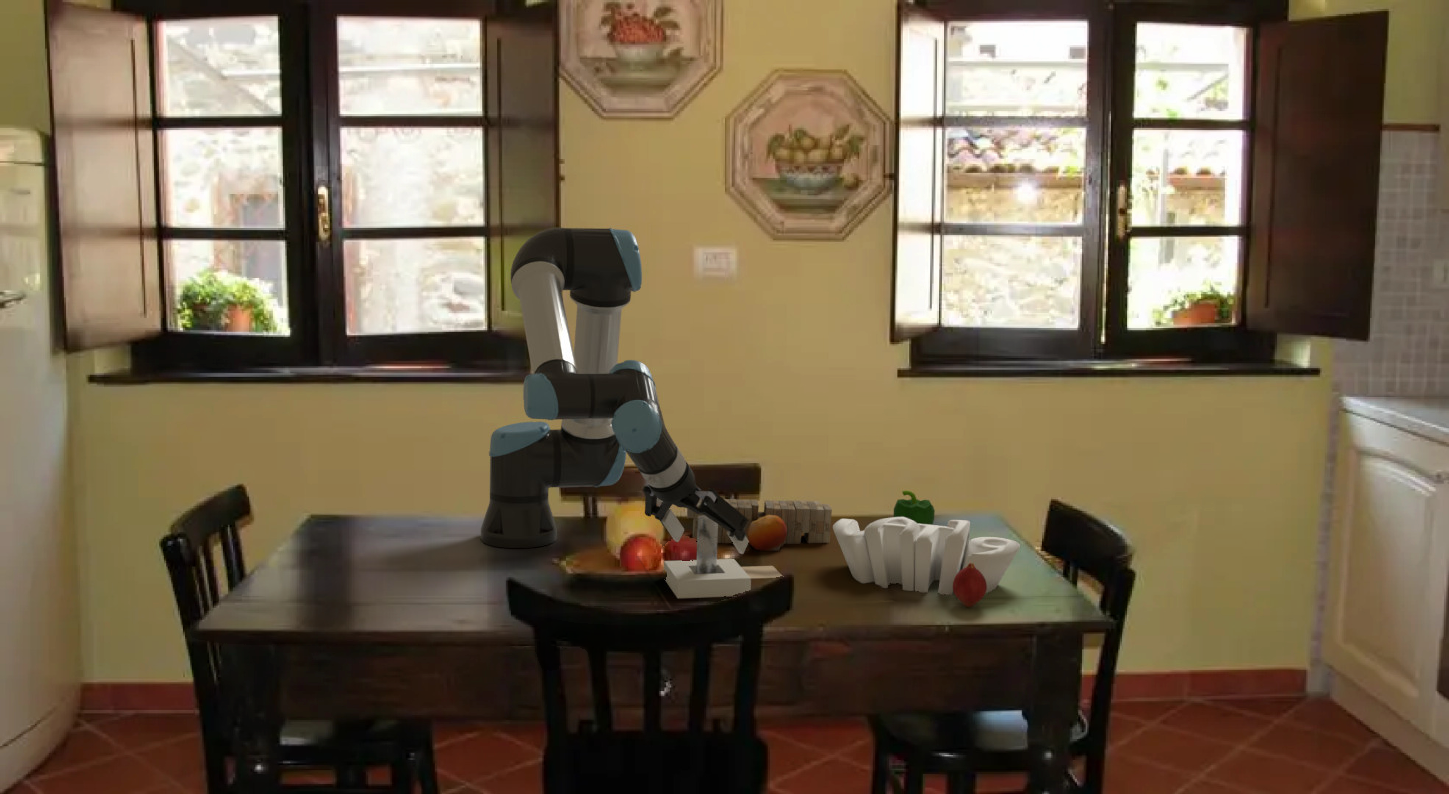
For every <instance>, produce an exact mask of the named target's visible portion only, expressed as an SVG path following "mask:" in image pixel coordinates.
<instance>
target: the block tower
mask: <svg viewBox="0 0 1449 794" xmlns="http://www.w3.org/2000/svg"><path fill="white" fill-rule="evenodd" d="M723 499H724V500H725V501H727V502H728V503H729V504H730V505H731V506H733V507H734V508H735V509H736V510H737V511H739V512H740V513H741V514H742V515H743V516H745V517H746V518H747V519H748V522H747V525H746V527H745V529H744V531H745V533H746V535H745V536H746V537H747V539H748V535H747V531H748V528H749V526H750V525H751V523H752V522H753V521H756V520H758V518H761V517H764V516H766V515H776V516H778V517H780V518H781V519H782V520H783V521H784V523H785V525H786V527H787V535H786V538H785V541H784V544H783V545H790V544H791V545H792V544H793V545H795V544H796V545H797V544H801V541H802V534H803V536H804V540H805V541H806V544H824V543H825V544H830V539H831V538H830V536H831V523H832V512H833V510H832V507H831V506H830V504H828V503H822V502H821V501H820V500H813V501H812V500H787V499H786V500H777V499H772V500H769V499H765V500H764V503H763V505H764V506H763V511H759V507H760V506H759V501H758V499H736V498H730V499H727V498H723ZM701 502H702V499H700V500H699V502H698V504H697V506H696V507H698V508H699V506H700V504H701ZM702 515H703V514H697V513H695V512H693V511H692V510H690V509H688V508H686V517H687V518H688V519H692V520H693V521H692V538H693V537H694V538H696V539H697V529H698V516H702ZM727 531H728V530H727V529H725V528H723V527H722V526H720V525H719V524H718V538H717V544H730V543H729V542H732V541H731V539H730V538H729V536H728V534H727Z"/></svg>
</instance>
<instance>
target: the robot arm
mask: <svg viewBox="0 0 1449 794" xmlns="http://www.w3.org/2000/svg"><path fill="white" fill-rule="evenodd" d="M642 279H643V271H642V260H641V253H640V248H639V245H638V241H637V238H636V236H635V234H633V232H631V231H630V230H627V229H618V228H617V229H616V228H612V227H608V228H593V227H592V228H591V227H590V228H588V227H586V228H585V227H584V228H583V227H574V228H573V227H550V228H547V229H544V230H543V229H542V230H541V231H538V232H537V233H535V234H534V235H533V236H531V237H530V238H528V239H527V240H526V241H525V243H524V244H523V245H521V246H520V248H519V250H518V251H517V253H516V255H515V257H514V259H513V261H512V265H511V269H510V282H511V283H510V284H511V288H512V292H513V294H514V296H515V297H516V298H517V299H518V300H519V303H520V308H521V314H522V320H523V321H522V322H523V326H524V331H525V332H524V333H525V339H526V343H527V349H528V354H529V359H530V360H529V361H530V366H531V373H530V374H528V375H526V376H525V377H524V381H523V391H522V393H523V394H522V395H523V397H522V398H523V408H524V409H523V410H524V413H525V415H526V416H527V417H528V418H530V419H532V420H533V419H534V420H548V421H554V420H556V421H558V420H561V422H560V423H561V424H560V429H551V427H550V425H549V423H547V422H545V421H523V422H517V423H516V422H515V423H510V424H507V425H503V426H501V427H499V428H497V429H495V430H494V431H493V432H492V433H491V436H490V443H489V451H488V455H489V458H490V459H489V503H488V506H487V509H486V513H485V515H484V518H483V520H482V524H481V528H480V541H481V542H482V543H484V544H486V545H489V546H492V547H498V548H508V549H528V548H529V549H531V548H536V547H537V548H538V547H543V546H547V545H551V544H553V543H555V542H556V541H557V539H558V536H557V535H558V533H557V530H558V529H557V525H556V522H555V518H554V516H553V512H552V509H551V505H550V502H549V501H550V500H549V488H551V489H552V488H579V487H580V488H581V487H583V488H584V487H586V488H587V487H593V488H599V487H606V486H612V485H614V484H616V483H618V481H619V480H620V479H621V477H622V474H623V472H624V469H625V464H626V459H627V455H628V456H629V458H630V459H631V461H632V462H633V464H634V465H635V467H636V469H638V471H639V472H640V474H641V475H642V477H643V479H644V480H645V484H644V487H643V488H642V492H643V493H644V496H645V497H644V498H645V499H644V500H645V501H644V502H645V503H644V514H645V516H647V517H651V516H654V519H656V520H658V521H659V522H660V523H661V524H662V526H663V527H664V528H665V529H666V530H667V532H668V533H669V535H670V536H671V537H672V539H673V541H674V542H677V543H679V541H680V540H681V538H682V535H683V534H684V531H685V528H684V527H683V525H682V524H681V522H680V521H679V519H678V517H677V516H676V515H675V514H674V512H673V510H672V509H670V508H671V507H672V506H673V505H674V506H676V508H685V509H687V508H688V509H690V510H692V511H693V512H695V513H697V514H703V515H705V516H706V517H708V518H709V519H711V520H712V521H714V522H716V523H717V524H719V525H720V526H722V527H723V528H725V529H727V530H728V531H727V534H728V536H729V538H730V539H731V541H732V542H733V543H732V544H733V545H734V547H735V549H736V550H737V552H738V554H741V555H744V553H745V551H746V548H747V547H748V545H749V544H748V543H749V541H748V539H747V537H746V536H745V535H746V533H745V531H744V529H745V527H746V525H747V522H748V519H747V518H746V517H745V516H743V515H742V514H741V513H740V512H739V511H737V510H736V509H735V508H734V507H733V506H731V505H730V504H729V503H728V502H727V501H725V500H724V499H725V498H723V497H722V496H720V495H719V493H718V492H717V490H716V489H715V488H713V487H708V490H707V491H706V490H705V491H704V490H702V489H701V488H700V487H699V486H697V484H696V476H695V474H694V471H693V470H692V468H691V467H690V465H689V463H688V462H687V461H686V459H685V456H684V455H683V453H682V452H681V450H680V448H679V447H678V446H677V444H676V443H675V441H674V440H673V438H672V436H671V435H670V433H669V432H668V430H667V427H666V425H665V420H664V418H663V416H664V415H663V414H662V413H663V412H662V410H661V407H660V402H659V401H660V400H659V398H658V392H657V386H656V382H655V381H654V378H653V375H652V373H651V371H650V369H649V367H648V366H647V365H646V364H644V363H643V362H641V361H638V360H635V359H627V360H624V361H623V362H618V358H619V357H618V356H619V346H620V333H621V323H622V322H621V321H622V309H624V308H625V307H626V306H627V305H628V304H630V302H631V298H632V297H631V296H632V292H633V293H636V292H638V291H640V290H641V288H642V282H643V281H642ZM563 291H569V298H570V299H571V301H573V302H574V303H575V305H576V317H575V330H574V346H573V343H572V338H571V334H570V333H571V332H570V327H569V323H568V319H567V318H568V317H567V313H566V308H565V305H564V299H563V294H562V292H563ZM701 499H702V502H701V504H700V506H699V508H698V507H696V506H697V504H698V502H699V500H701ZM657 500H659V501H662V502H661V503H660V504H659V505H660V506H658V505H657V504H658V503H657Z"/></svg>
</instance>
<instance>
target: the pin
mask: <svg viewBox="0 0 1449 794" xmlns="http://www.w3.org/2000/svg"><path fill="white" fill-rule="evenodd" d="M717 538H718V524H717V523H716V522H714V521H712V520H711V519H709V518H708V517H706V516H705V515H702V516H698V529H697V542H696V560H697V566H696V574H715V573H716V572H717V559H718V543H717Z"/></svg>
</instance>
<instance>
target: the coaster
mask: <svg viewBox="0 0 1449 794" xmlns="http://www.w3.org/2000/svg"><path fill="white" fill-rule="evenodd" d="M741 568H742V569H743V570H744V571H745V572H746V573H747V574H748V575H749V576H750V578H751V580H752V579H755V580H756V579H777V578H776V577H780V576H783V575H782V573H780V572H779V571H778V570H777V568H775V566H773V565H758V566H756V565H755V566H752V565H751V566H741Z"/></svg>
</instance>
